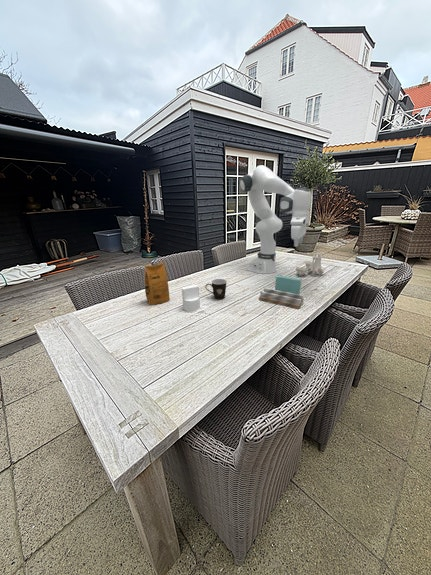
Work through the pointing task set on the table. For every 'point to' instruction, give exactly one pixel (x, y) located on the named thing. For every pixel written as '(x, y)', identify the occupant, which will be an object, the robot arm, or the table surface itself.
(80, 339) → the table surface
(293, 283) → the door panel
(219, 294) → the coffee mug
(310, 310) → the table surface
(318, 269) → the chinaware
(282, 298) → the bottom track
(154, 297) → the coffee package
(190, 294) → the base with upright slab
